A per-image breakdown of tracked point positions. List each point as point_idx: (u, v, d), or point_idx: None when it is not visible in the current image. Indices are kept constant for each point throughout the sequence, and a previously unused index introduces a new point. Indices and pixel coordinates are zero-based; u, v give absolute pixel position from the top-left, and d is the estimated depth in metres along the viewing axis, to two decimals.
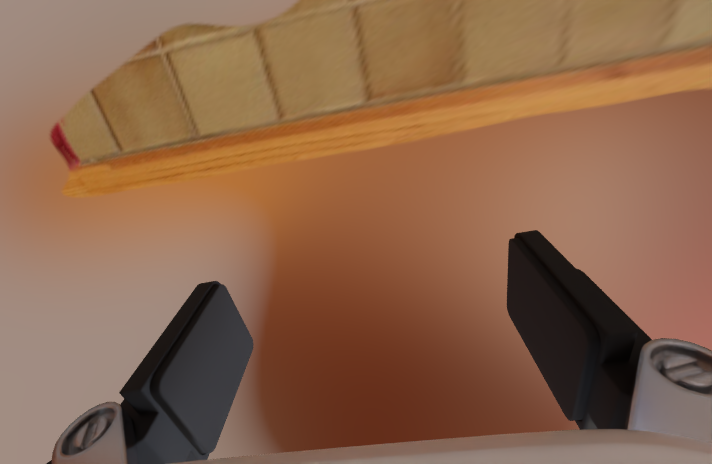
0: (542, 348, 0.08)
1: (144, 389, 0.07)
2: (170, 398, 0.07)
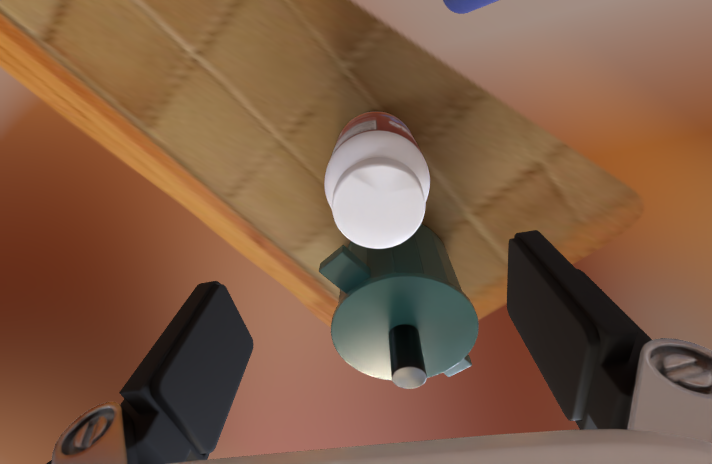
0: (542, 348, 0.08)
1: (144, 389, 0.07)
2: (170, 398, 0.07)
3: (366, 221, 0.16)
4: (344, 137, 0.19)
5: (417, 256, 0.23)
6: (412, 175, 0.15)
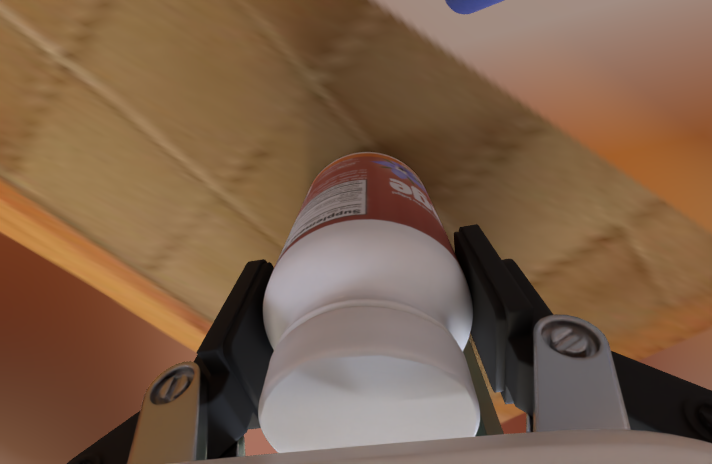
0: (477, 330, 0.09)
1: (219, 349, 0.07)
2: (239, 360, 0.08)
3: (340, 444, 0.07)
4: (306, 216, 0.10)
5: None
6: (452, 366, 0.06)
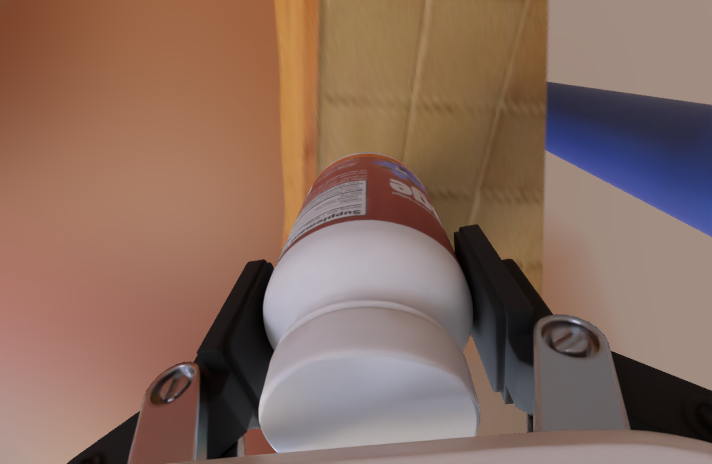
0: (477, 330, 0.09)
1: (219, 349, 0.07)
2: (239, 360, 0.08)
3: (340, 446, 0.07)
4: (306, 216, 0.10)
5: None
6: (452, 367, 0.06)
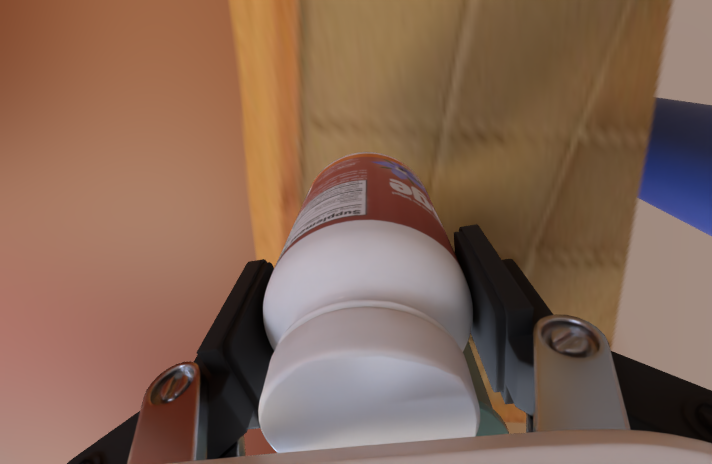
0: (477, 330, 0.09)
1: (219, 349, 0.07)
2: (239, 360, 0.08)
3: (340, 446, 0.07)
4: (306, 216, 0.10)
5: (480, 376, 0.18)
6: (452, 367, 0.06)
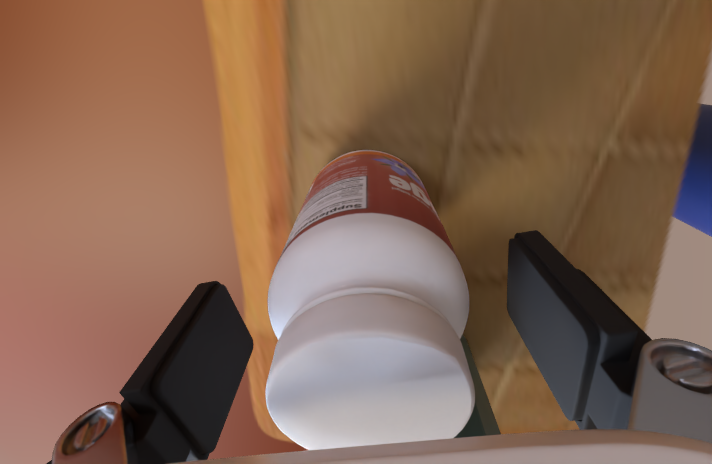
0: (542, 348, 0.08)
1: (144, 389, 0.07)
2: (170, 398, 0.07)
3: (343, 425, 0.07)
4: (309, 211, 0.11)
5: (495, 422, 0.16)
6: (448, 349, 0.06)
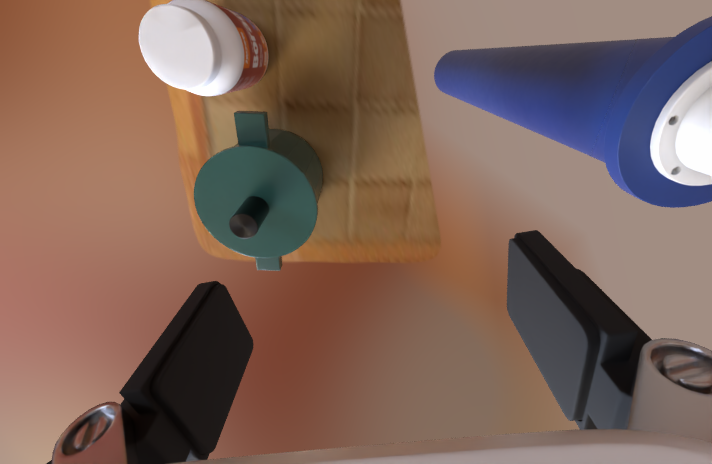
0: (542, 348, 0.08)
1: (144, 389, 0.07)
2: (170, 398, 0.07)
3: (170, 60, 0.20)
4: None
5: (306, 166, 0.29)
6: (196, 16, 0.19)
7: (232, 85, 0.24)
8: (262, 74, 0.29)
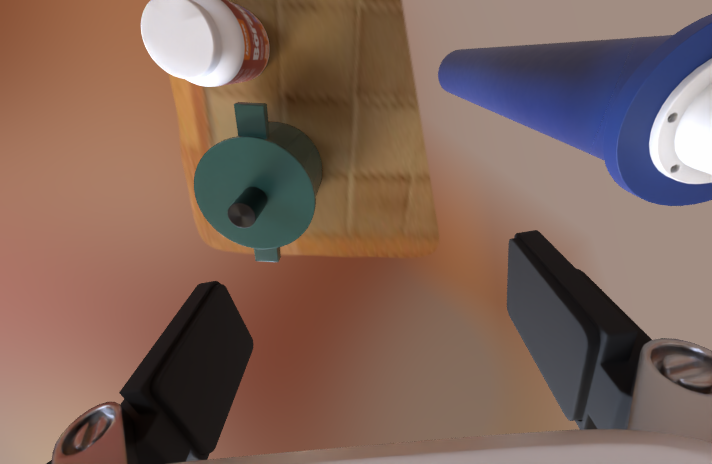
0: (542, 348, 0.08)
1: (144, 389, 0.07)
2: (170, 398, 0.07)
3: (171, 49, 0.20)
4: None
5: (305, 158, 0.29)
6: (196, 6, 0.19)
7: (232, 76, 0.24)
8: (263, 67, 0.30)
